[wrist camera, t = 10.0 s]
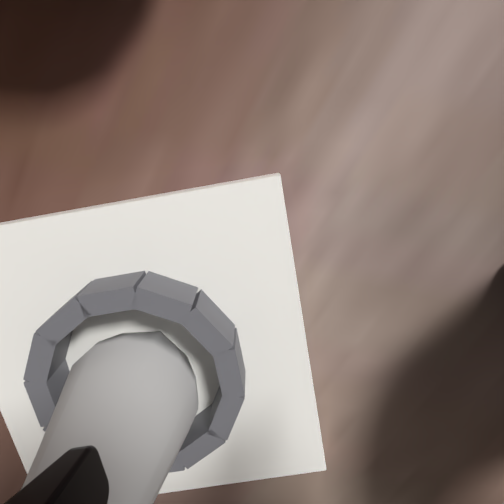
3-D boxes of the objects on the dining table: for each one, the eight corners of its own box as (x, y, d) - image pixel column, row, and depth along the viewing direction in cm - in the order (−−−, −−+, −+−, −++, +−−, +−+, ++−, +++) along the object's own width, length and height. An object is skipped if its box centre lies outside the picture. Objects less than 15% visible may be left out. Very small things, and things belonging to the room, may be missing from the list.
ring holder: (278, 172, 19) (283, 180, 16) (323, 455, 23) (333, 502, 20) (-56, 232, 20) (-109, 251, 17) (50, 495, 24) (23, 544, 21)
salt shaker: (182, 429, 22) (73, 852, 9) (76, 392, 21) (-191, 790, 9) (222, 338, 20) (153, 709, 7) (107, 295, 19) (-174, 620, 7)
